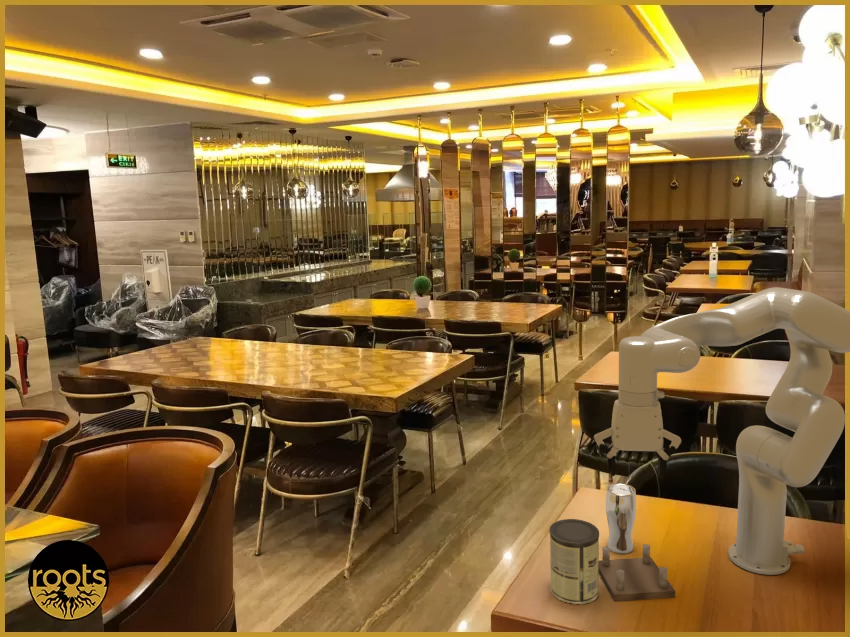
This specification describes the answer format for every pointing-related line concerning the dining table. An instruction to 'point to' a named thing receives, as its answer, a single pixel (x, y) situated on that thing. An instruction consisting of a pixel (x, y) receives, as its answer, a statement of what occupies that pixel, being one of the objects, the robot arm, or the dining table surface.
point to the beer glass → (620, 517)
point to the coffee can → (574, 561)
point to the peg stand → (634, 577)
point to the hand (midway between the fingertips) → (636, 474)
